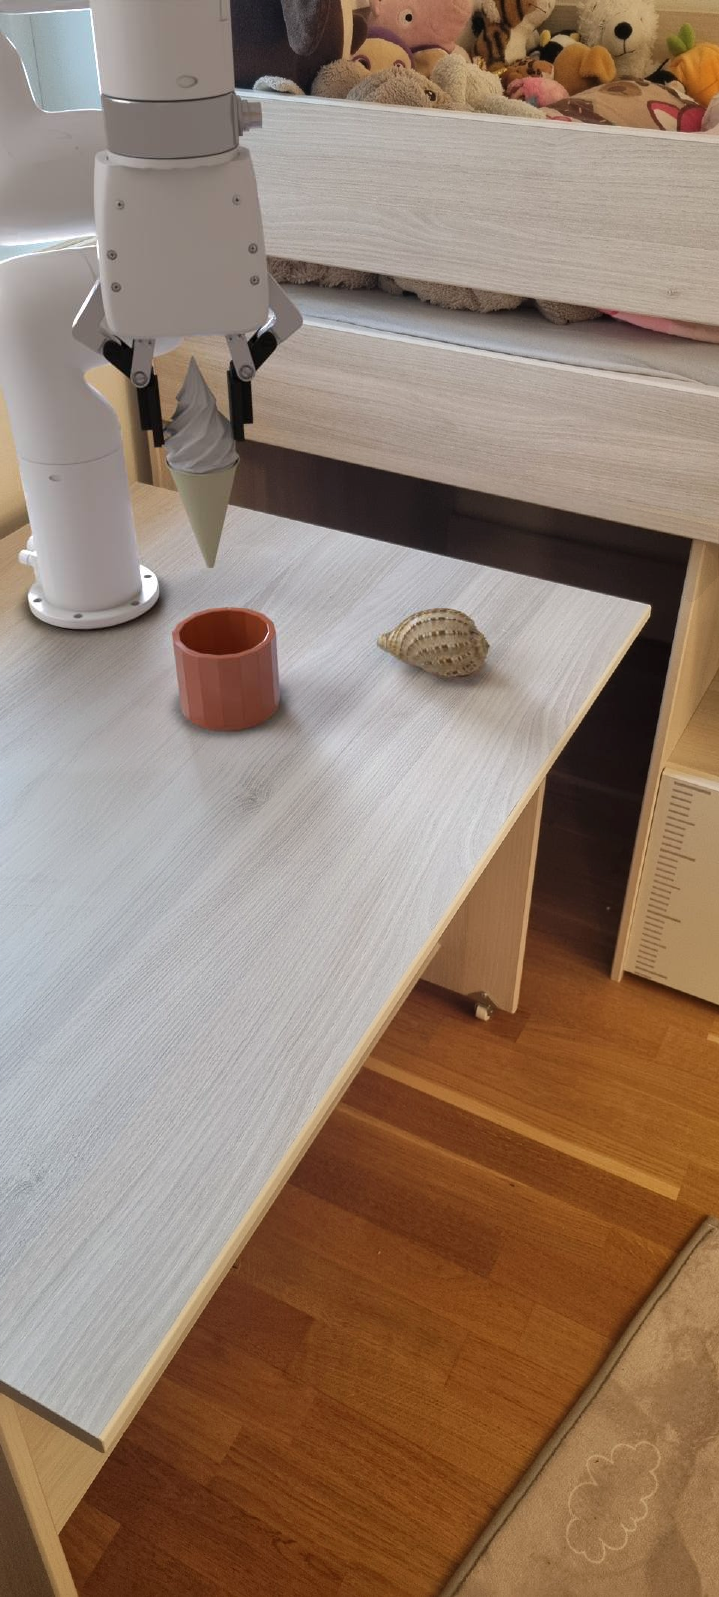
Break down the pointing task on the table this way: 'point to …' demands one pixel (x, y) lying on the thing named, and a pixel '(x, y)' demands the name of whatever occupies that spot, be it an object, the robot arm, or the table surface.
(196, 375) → the ice cream cone
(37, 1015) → the table surface
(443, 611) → the seashell
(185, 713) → the cone holder
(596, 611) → the table surface
